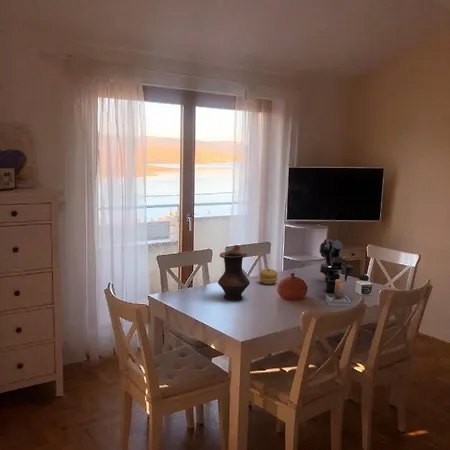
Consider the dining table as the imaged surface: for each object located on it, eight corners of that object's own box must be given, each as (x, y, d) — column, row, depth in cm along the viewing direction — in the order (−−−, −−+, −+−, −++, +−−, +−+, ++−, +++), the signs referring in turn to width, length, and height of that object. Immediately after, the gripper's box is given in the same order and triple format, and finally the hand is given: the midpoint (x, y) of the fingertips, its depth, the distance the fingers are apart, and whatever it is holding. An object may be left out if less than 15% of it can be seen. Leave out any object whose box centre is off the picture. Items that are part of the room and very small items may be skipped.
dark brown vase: (246, 304, 281) (248, 252, 277) (214, 301, 285) (215, 250, 280) (252, 294, 302) (253, 245, 297) (222, 291, 305) (223, 243, 301)
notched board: (325, 299, 295) (325, 294, 294) (346, 300, 294) (346, 295, 294) (329, 306, 283) (329, 300, 282) (350, 306, 283) (350, 301, 282)
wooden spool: (330, 299, 289) (331, 279, 287) (337, 298, 293) (339, 278, 291) (338, 302, 284) (339, 282, 282) (346, 301, 288) (347, 281, 286)
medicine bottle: (361, 295, 305) (362, 276, 303) (355, 292, 312) (356, 273, 310) (371, 294, 307) (372, 275, 305) (365, 291, 314) (366, 272, 312)
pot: (257, 284, 323) (257, 269, 321) (261, 280, 334) (262, 265, 333) (275, 286, 320) (275, 271, 318) (278, 282, 331) (279, 267, 329)
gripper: (321, 250, 294) (323, 273, 284) (353, 251, 293) (356, 274, 284) (318, 260, 303) (320, 283, 294) (350, 261, 302) (352, 284, 293)
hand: (337, 281), depth 291 cm, fingers open, 9 cm apart
